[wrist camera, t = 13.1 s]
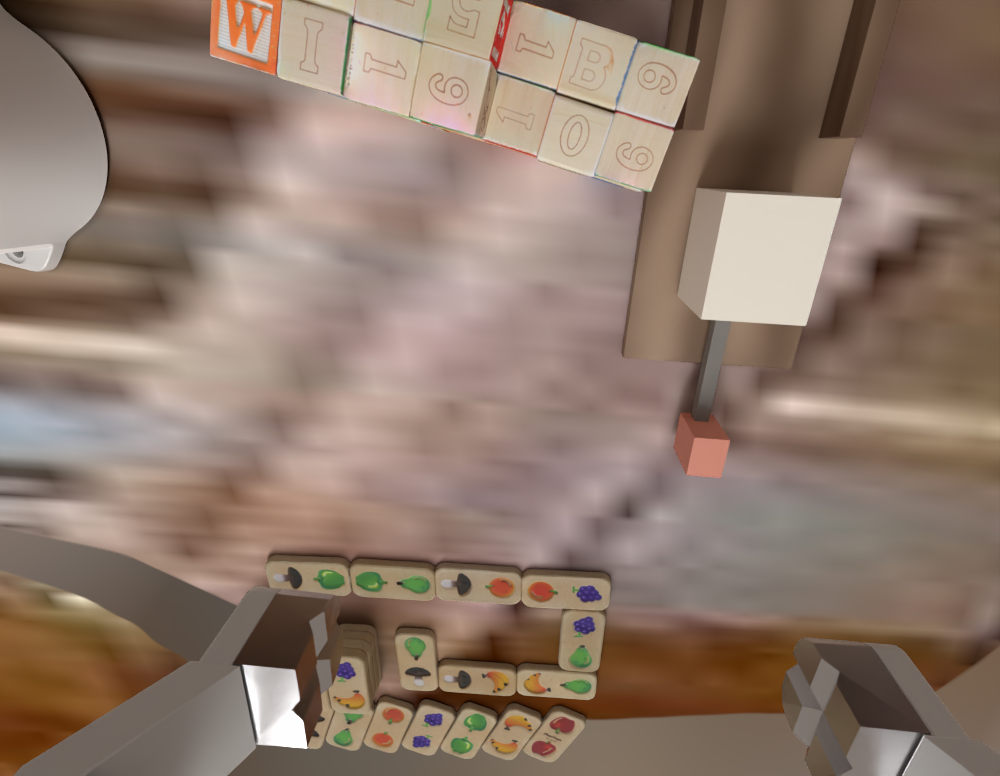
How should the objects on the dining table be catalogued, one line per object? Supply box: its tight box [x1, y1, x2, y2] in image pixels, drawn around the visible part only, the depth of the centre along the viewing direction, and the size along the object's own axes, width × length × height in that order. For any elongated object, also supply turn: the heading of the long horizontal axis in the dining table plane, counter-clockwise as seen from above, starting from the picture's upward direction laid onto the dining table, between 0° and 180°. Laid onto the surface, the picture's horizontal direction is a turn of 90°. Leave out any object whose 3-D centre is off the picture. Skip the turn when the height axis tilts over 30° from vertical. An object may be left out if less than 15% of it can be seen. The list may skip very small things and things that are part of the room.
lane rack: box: [622, 0, 900, 369], centre depth 32 cm, size 12×28×5 cm, turn 177°
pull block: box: [674, 188, 842, 478], centre depth 35 cm, size 6×19×6 cm, turn 177°
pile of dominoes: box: [265, 555, 611, 762], centre depth 52 cm, size 35×27×6 cm
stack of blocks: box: [210, 0, 700, 192], centre depth 28 cm, size 21×6×12 cm, turn 74°
